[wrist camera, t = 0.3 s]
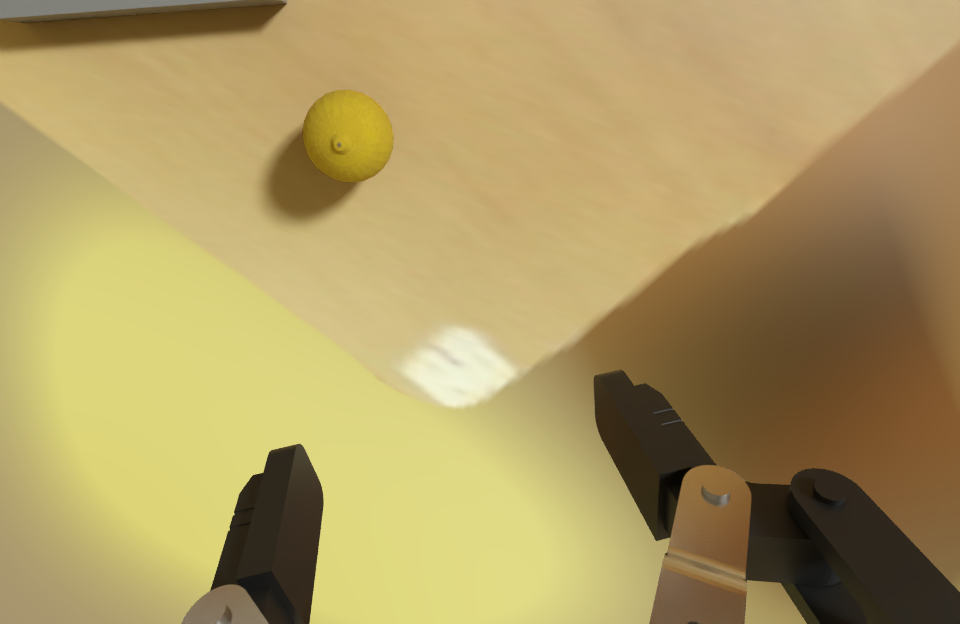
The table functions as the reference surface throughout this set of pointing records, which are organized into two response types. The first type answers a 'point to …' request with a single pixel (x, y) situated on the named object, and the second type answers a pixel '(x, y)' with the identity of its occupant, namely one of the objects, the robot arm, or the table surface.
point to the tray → (108, 8)
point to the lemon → (348, 136)
